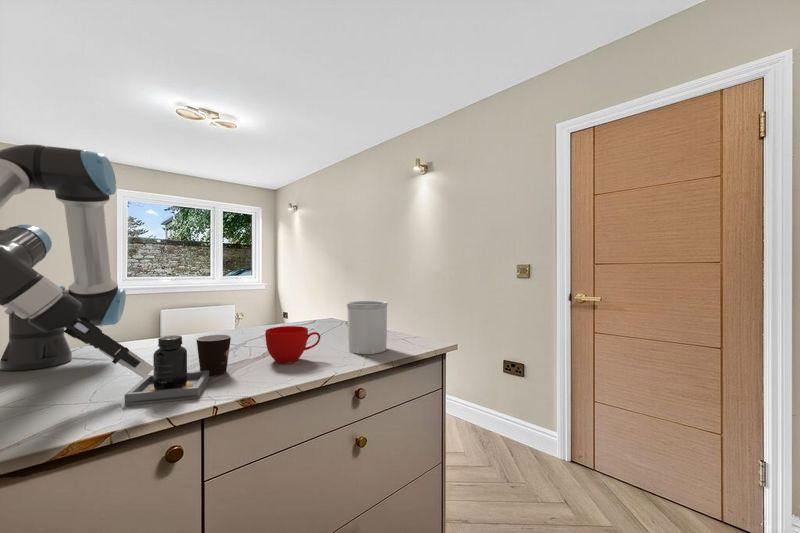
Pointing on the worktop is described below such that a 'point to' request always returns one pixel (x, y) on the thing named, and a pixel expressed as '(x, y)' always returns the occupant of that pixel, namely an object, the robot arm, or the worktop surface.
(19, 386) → the worktop surface
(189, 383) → the tray
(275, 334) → the ceramic cup
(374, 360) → the worktop surface
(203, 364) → the coffee mug
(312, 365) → the worktop surface
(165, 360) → the supplement bottle
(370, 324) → the utensil holder
